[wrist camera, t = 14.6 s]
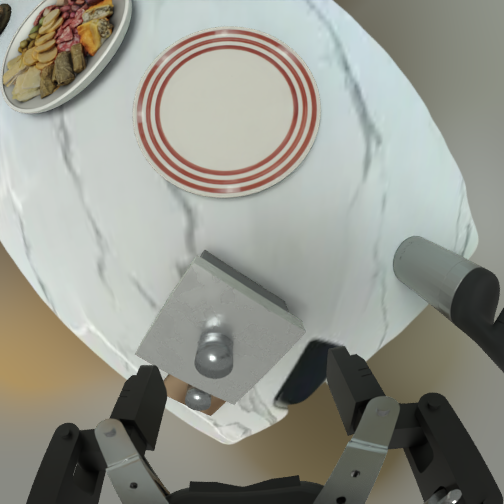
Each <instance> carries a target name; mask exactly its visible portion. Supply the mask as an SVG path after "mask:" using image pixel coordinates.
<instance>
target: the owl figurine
mask: <svg viewBox="0 0 504 504" xmlns="http://www.w3.org/2000/svg"><path fill="white" fill-rule="evenodd" d="M8 10H9V11H8ZM7 11H8V12H7ZM10 16H11V7H10V6H9V5H8V4H1V5H0V33H1V32H2V31H3V29H4V28H5V27H6V26H7V24H8V22H9V19H10Z"/></svg>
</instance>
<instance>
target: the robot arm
mask: <svg viewBox="0 0 504 504" xmlns="http://www.w3.org/2000/svg"><path fill="white" fill-rule="evenodd" d="M393 267H394V272H395V275H396V276H397V278H398V279H399V280H400V281H402V282H403V283H404V284H406V285H407V286H408V287H409V288H411V289H412V290H413V291H414V292H416V293H417V294H418V295H419V296H421V297H422V298H423V299H424V300H426V301H427V302H428V303H429V304H431V305H432V306H433V307H434V308H435V309H437V310H438V311H439V312H441V313H442V314H443V315H444V316H445V317H446V318H448V319H449V320H450V321H451V322H452V323H454V324H455V325H456V326H457V327H458V328H459V329H461V330H462V331H463V332H464V333H466V334H467V335H468V336H469V337H470V338H471V339H472V340H474V341H475V342H476V343H477V344H478V345H479V346H480V347H481V348H482V349H483V351H484V352H485V353H486V354H487V355H488V356H489V357H490V358H491V359H492V360H493V362H494V363H495V364H496V365H497V366H498V367H499V368H500V369H501V370H502V371H503V372H504V308H503V310H502V311H501V313H500V315H499V316H498V318H497V320H496V321H495V322H494V316H495V312H496V308H497V305H498V300H499V294H500V293H499V292H500V287H499V281H498V279H497V277H496V276H495V275H494V274H493V273H492V272H491V271H489V270H487V269H485V268H483V267H481V266H479V265H477V264H475V263H473V262H471V261H469V260H467V259H465V258H463V257H461V256H459V255H458V254H456V253H453V252H451V251H449V250H447V249H445V248H443V247H441V246H439V245H437V244H435V243H433V242H431V241H429V240H426V239H424V238H422V237H419V236H413V237H410V238H408V239H406V240H405V241H404V242H403V243H402V244H401V245H400V246H399V248H398V250H397V252H396V254H395V257H394V264H393ZM327 382H328V385H329V388H330V390H331V393H332V395H333V398H334V401H335V403H336V406H337V408H338V411H339V414H340V416H341V419H342V421H343V424H344V427H345V430H346V432H347V435H348V436H349V435H352V434H354V436H353V438H352V440H351V441H349V443H348V444H347V446H346V448H345V450H344V452H343V454H342V456H341V458H340V459H339V461H338V463H337V465H336V467H335V468H334V470H333V472H332V474H331V476H330V477H329V479H328V481H327V482H326V484H325V485H324V486H323V485H320V484H317V483H313V482H307V481H300V480H299V475H297V476H291V477H283V478H276V479H270V480H267V481H263V482H260V483H257V484H253V485H249V486H245V487H240V486H234V485H228V484H223V483H218V482H192V481H191V482H190V487H189V488H185V489H181V490H179V491H176V492H174V493H172V494H170V492H169V491H168V490H167V489H166V487H164V485H163V483H162V482H161V481H160V479H159V478H158V476H157V475H156V473H155V472H154V470H153V468H152V467H151V465H150V464H149V462H148V461H147V459H146V458H145V456H144V455H145V451H146V450H151V451H154V449H155V445H156V441H157V437H158V432H159V428H160V424H161V420H162V416H163V412H164V408H165V404H166V401H167V390H166V387H165V384H164V382H163V379H162V377H161V374H160V371H159V369H158V367H157V366H156V365H141V366H140V368H139V370H138V373H137V375H132V376H131V377H130V378H129V379H128V380H127V381H126V382H125V384H124V386H123V389H122V391H121V393H120V397H119V398H118V400H117V402H116V404H115V407H114V409H113V412H112V414H111V416H110V418H109V419H106V420H103V421H101V422H100V423H99V424H98V425H97V426H96V428H95V429H91V430H79V428H78V427H77V426H76V425H75V424H73V423H64V424H62V425H60V426H59V427H58V428H57V429H56V431H55V433H54V435H53V437H52V439H51V441H50V443H49V446H48V448H47V451H46V453H45V455H44V457H43V460H42V462H41V465H40V467H39V470H38V472H37V475H36V477H35V480H34V483H33V485H32V488H31V491H30V494H29V497H28V500H27V503H26V504H98V502H99V498H100V493H101V489H102V485H103V480H104V476H105V472H107V474H108V476H109V478H110V480H111V482H112V484H113V487H114V489H115V491H116V492H117V494H118V496H119V498H120V500H121V502H122V504H365V502H366V500H367V498H368V496H369V494H370V491H371V489H372V487H373V485H374V483H375V481H376V478H377V476H378V474H379V471H380V469H381V466H382V464H383V461H384V459H385V456H386V454H387V450H388V449H397V448H403V449H404V452H405V454H406V457H407V459H408V461H409V464H410V466H411V469H412V471H413V474H414V476H415V479H416V481H417V484H418V487H419V489H420V492H421V495H422V497H423V500H424V504H503V497H502V494H501V492H500V490H499V488H498V486H497V484H496V482H495V480H494V478H493V476H492V474H491V472H490V471H489V469H488V467H487V465H486V464H485V461H484V460H483V458H482V456H481V454H480V453H479V451H478V449H477V447H476V446H475V444H474V442H473V441H472V439H471V437H470V435H469V434H468V432H467V431H466V429H465V428H464V426H463V424H462V423H461V421H460V419H459V418H458V416H457V415H456V413H455V411H454V410H453V408H452V407H451V405H450V404H449V402H448V401H447V399H446V398H445V397H444V396H443V395H441V394H438V393H427V394H425V395H423V396H422V397H421V398H420V400H419V402H418V403H408V404H400V403H398V402H397V401H396V400H395V399H393V398H391V397H387V396H386V395H385V394H384V392H383V390H382V388H381V387H380V385H379V384H378V382H377V380H376V378H375V377H374V375H373V374H372V372H371V370H370V369H369V367H368V365H367V363H366V362H365V360H364V359H363V358H361V357H360V356H358V355H357V354H355V355H350V354H349V353H348V351H347V349H346V347H345V346H342V347H337V348H332V349H329V350H328V359H327ZM76 464H77V466H76ZM75 467H76V469H75ZM74 471H75V472H74ZM73 474H74V475H73Z"/></svg>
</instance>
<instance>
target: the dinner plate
mask: <svg viewBox="0 0 504 504" xmlns="http://www.w3.org/2000/svg"><path fill="white" fill-rule="evenodd" d="M320 114H321V104H320V97H319V91H318V88H317V84H316V82H315V79H314V77H313V75H312V73H311V71H310V70H309V68H308V66H307V65H306V63H305V62H304V61H303V60H302V58H301V57H300V56H299V55H298V54H297V53H296V52H295V51H294V50H293V49H292V48H290V47H289V46H288V45H286V44H285V43H284V42H282V41H280V40H279V39H277V38H275V37H273V36H271V35H269V34H266V33H264V32H261V31H257V30H254V29H249V28H244V27H215V28H209V29H205V30H201V31H198V32H195V33H192V34H190V35H188V36H186V37H183V38H181V39H180V40H178V41H176V42H175V43H173V44H172V45H170V46H169V47H167V48H166V49H165V50H164V51H163V52H162V53H160V54H159V55H158V56H157V57H156V58H155V60H154V61H153V62H152V63H151V64H150V66H149V67H148V69H147V70H146V72H145V73H144V75H143V77H142V79H141V81H140V83H139V85H138V88H137V91H136V94H135V98H134V103H133V127H134V132H135V136H136V139H137V142H138V145H139V147H140V149H141V151H142V153H143V155H144V157H145V158H146V160H147V161H148V162H149V164H150V165H151V166H152V167H153V168H154V169H155V170H156V172H157V173H159V174H160V175H161V176H162V177H163V178H164V179H166V180H167V181H169V182H170V183H172V184H173V185H175V186H177V187H179V188H181V189H183V190H185V191H188V192H190V193H193V194H197V195H201V196H207V197H215V198H232V197H240V196H246V195H249V194H253V193H256V192H260V191H262V190H265V189H267V188H269V187H271V186H273V185H274V184H276V183H278V182H279V181H281V180H282V179H284V178H285V177H287V176H288V175H289V174H290V173H291V172H292V171H293V170H294V169H295V168H296V167H298V166H299V164H300V163H301V162H302V161H303V159H304V158H305V157H306V155H307V154H308V152H309V151H310V149H311V147H312V145H313V143H314V140H315V138H316V135H317V132H318V128H319V123H320Z"/></svg>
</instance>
